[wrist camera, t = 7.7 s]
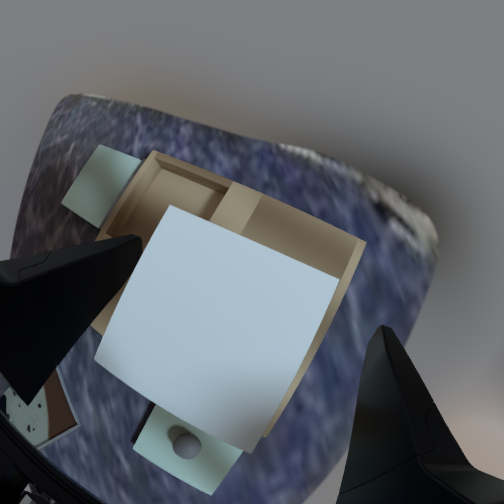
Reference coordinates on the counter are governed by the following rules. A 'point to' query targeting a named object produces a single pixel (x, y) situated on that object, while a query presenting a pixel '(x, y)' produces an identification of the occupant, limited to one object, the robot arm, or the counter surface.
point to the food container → (43, 412)
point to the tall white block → (214, 326)
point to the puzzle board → (224, 215)
